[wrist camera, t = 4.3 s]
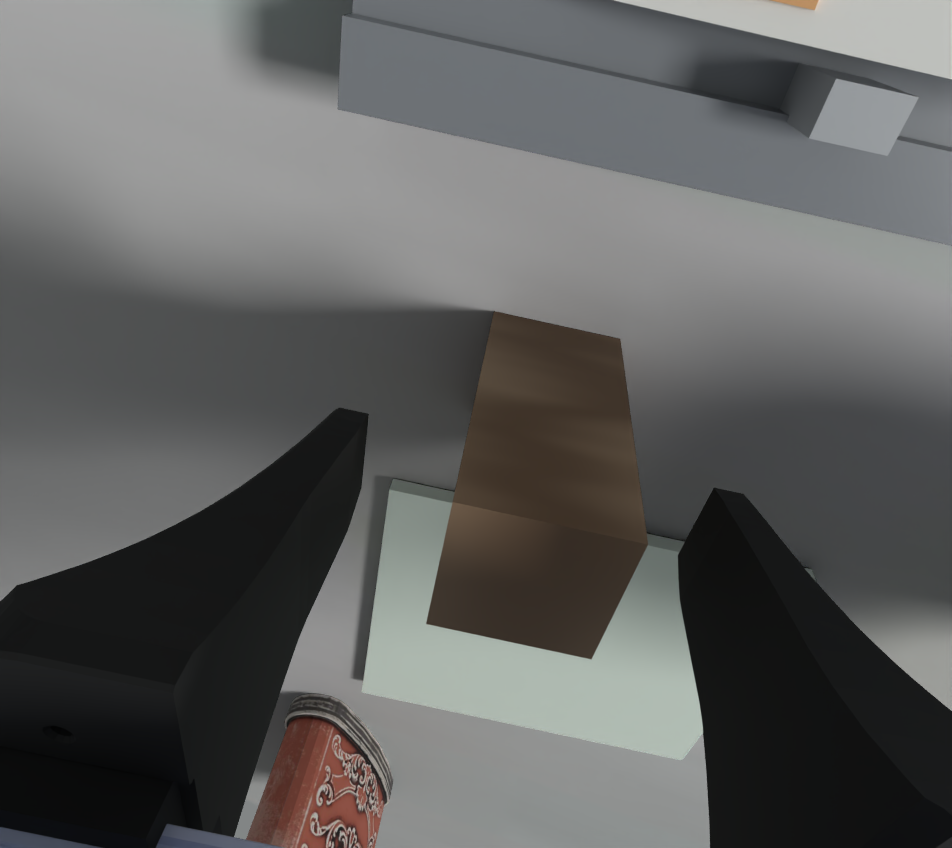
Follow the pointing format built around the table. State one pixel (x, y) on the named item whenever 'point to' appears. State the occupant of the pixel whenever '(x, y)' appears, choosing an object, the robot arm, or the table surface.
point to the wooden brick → (543, 493)
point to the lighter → (324, 781)
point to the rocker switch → (838, 26)
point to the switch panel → (663, 102)
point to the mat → (533, 648)
